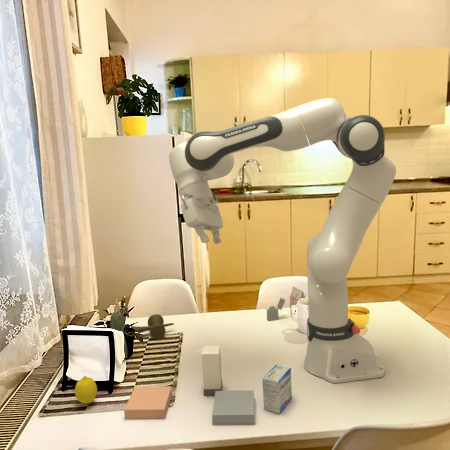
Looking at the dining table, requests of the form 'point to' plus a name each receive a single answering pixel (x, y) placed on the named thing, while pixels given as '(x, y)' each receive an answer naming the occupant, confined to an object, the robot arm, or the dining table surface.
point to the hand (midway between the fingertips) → (212, 242)
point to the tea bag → (296, 296)
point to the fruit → (85, 390)
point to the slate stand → (233, 407)
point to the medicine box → (277, 388)
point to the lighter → (274, 311)
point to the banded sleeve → (211, 370)
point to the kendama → (154, 327)
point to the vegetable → (118, 321)
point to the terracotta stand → (148, 403)
